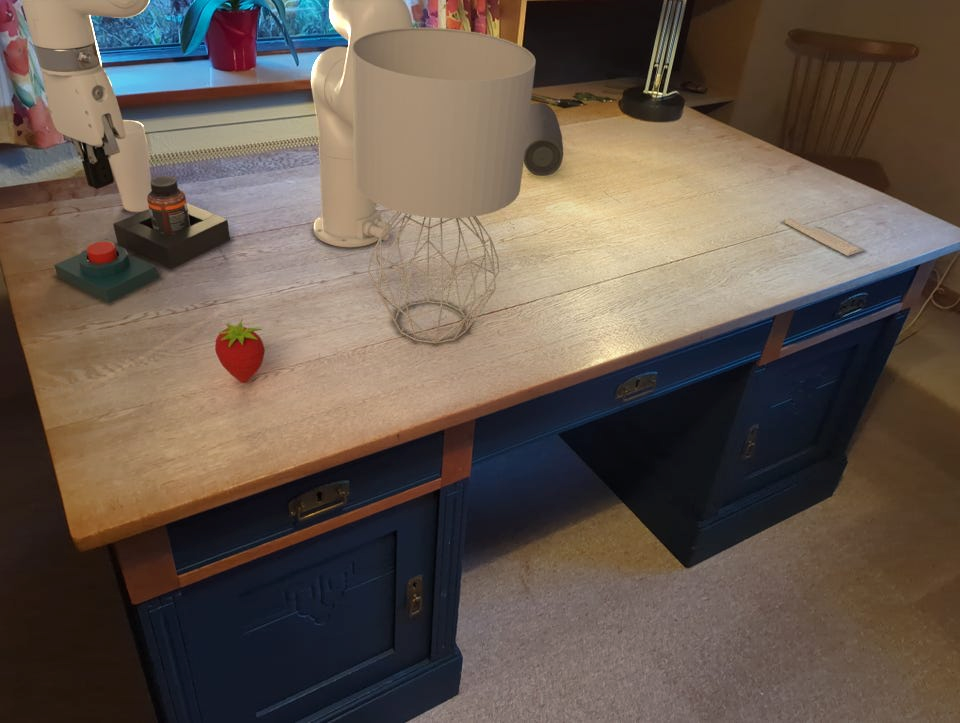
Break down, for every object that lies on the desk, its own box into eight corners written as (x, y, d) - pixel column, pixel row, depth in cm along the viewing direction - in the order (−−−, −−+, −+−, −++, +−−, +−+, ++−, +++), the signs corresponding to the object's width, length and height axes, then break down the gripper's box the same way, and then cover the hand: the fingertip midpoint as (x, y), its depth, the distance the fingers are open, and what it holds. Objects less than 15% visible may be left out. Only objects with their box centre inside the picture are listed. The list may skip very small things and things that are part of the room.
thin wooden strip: (800, 218, 158) (802, 213, 157) (862, 251, 148) (864, 246, 147) (784, 222, 155) (786, 217, 155) (846, 256, 146) (849, 251, 145)
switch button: (123, 256, 118) (120, 246, 117) (100, 267, 115) (98, 257, 114) (105, 248, 119) (103, 238, 118) (83, 258, 117) (80, 248, 116)
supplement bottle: (200, 239, 131) (190, 177, 125) (178, 254, 127) (167, 191, 120) (171, 231, 133) (159, 170, 126) (148, 246, 128) (135, 183, 121)
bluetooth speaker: (561, 183, 162) (568, 138, 156) (518, 180, 162) (523, 134, 156) (555, 144, 180) (561, 101, 174) (516, 140, 180) (520, 98, 174)
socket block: (230, 240, 132) (227, 219, 129) (171, 269, 123) (167, 247, 120) (178, 218, 137) (174, 197, 134) (117, 245, 128) (112, 223, 125)
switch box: (158, 278, 120) (153, 256, 118) (109, 303, 114) (103, 280, 112) (107, 254, 125) (102, 233, 122) (57, 277, 118) (50, 254, 116)
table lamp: (383, 379, 105) (384, 85, 81) (340, 295, 121) (330, 29, 97) (527, 350, 113) (568, 76, 89) (469, 275, 129) (490, 25, 105)
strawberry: (253, 359, 106) (245, 298, 100) (277, 388, 101) (270, 327, 95) (211, 373, 103) (201, 311, 97) (234, 403, 98) (225, 341, 92)
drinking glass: (146, 218, 136) (129, 136, 127) (111, 211, 137) (92, 130, 127) (166, 202, 141) (151, 123, 132) (132, 196, 142) (115, 117, 133)
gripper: (130, 61, 101) (157, 189, 112) (57, 39, 106) (90, 163, 118) (81, 74, 96) (114, 207, 107) (6, 50, 101) (46, 179, 112)
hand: (101, 184), depth 112 cm, fingers closed
